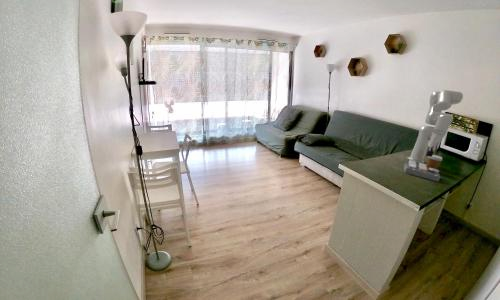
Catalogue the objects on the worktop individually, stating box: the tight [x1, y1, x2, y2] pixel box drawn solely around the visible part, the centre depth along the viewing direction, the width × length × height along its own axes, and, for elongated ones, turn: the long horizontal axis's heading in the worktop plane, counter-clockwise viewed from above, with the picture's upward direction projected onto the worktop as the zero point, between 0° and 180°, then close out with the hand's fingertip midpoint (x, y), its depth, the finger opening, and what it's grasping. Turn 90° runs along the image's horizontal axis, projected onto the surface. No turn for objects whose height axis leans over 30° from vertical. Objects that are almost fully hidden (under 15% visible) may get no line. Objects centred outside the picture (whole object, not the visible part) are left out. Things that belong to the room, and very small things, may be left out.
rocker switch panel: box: [403, 162, 442, 182], centre depth 175 cm, size 18×21×4 cm
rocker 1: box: [408, 159, 417, 169], centre depth 175 cm, size 9×4×1 cm, turn 150°
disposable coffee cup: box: [425, 154, 443, 170], centre depth 183 cm, size 10×10×12 cm
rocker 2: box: [418, 163, 427, 172], centre depth 172 cm, size 9×4×1 cm, turn 150°
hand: (428, 156), depth 166 cm, fingers closed
